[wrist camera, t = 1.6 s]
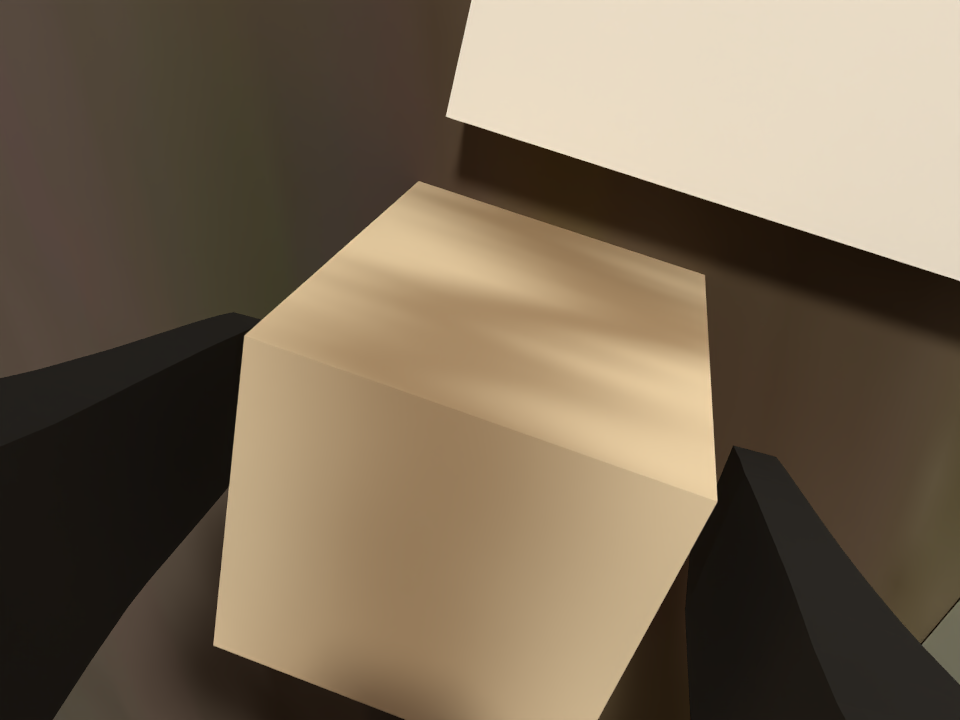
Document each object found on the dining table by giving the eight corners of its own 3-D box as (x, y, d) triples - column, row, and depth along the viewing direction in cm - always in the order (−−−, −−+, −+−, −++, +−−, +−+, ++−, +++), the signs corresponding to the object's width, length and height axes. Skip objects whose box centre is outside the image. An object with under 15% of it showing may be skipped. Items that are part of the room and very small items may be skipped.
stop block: (704, 274, 13) (716, 501, 7) (605, 497, 15) (564, 781, 10) (419, 180, 13) (244, 335, 8) (369, 413, 16) (213, 645, 10)
